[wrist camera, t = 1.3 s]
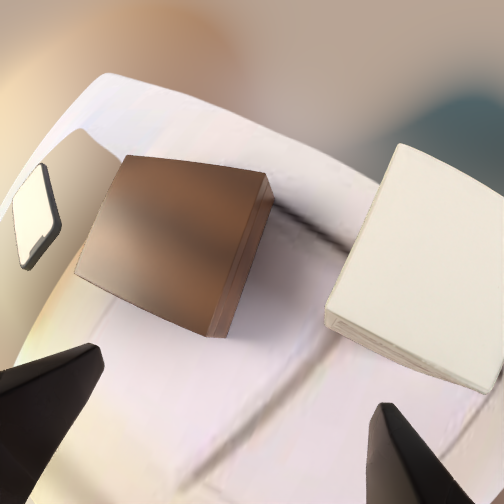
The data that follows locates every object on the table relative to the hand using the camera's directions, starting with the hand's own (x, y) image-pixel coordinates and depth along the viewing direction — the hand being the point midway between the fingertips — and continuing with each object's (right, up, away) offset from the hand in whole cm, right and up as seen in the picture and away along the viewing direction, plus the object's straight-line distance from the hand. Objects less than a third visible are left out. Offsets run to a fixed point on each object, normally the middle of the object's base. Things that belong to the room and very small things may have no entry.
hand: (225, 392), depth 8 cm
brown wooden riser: (-6, +5, +17) cm, 19 cm away
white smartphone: (-29, +9, +25) cm, 40 cm away
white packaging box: (+11, 0, +12) cm, 16 cm away
